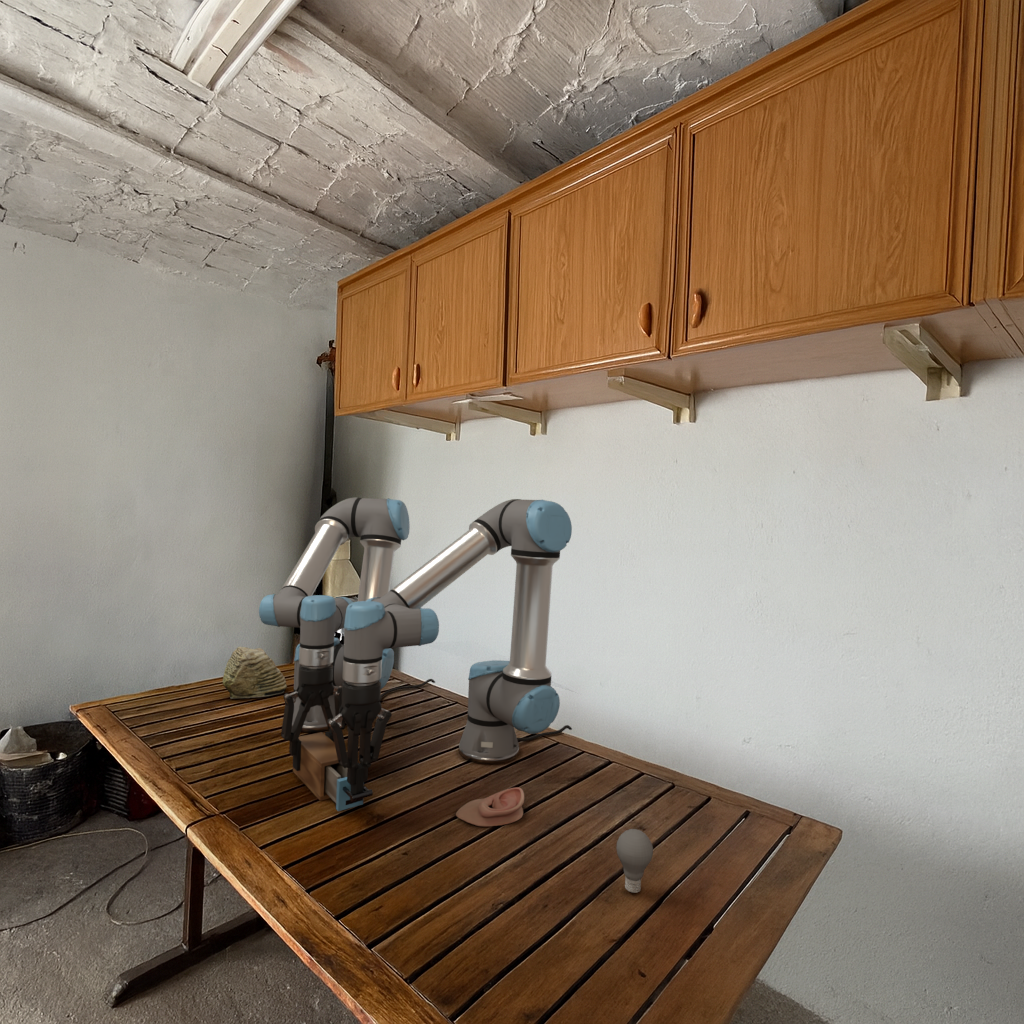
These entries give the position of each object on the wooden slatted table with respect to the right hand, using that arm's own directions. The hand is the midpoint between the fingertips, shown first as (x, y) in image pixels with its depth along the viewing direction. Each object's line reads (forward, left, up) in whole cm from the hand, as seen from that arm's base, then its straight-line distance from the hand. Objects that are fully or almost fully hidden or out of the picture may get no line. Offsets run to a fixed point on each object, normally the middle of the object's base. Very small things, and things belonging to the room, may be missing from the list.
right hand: (356, 798), depth 126 cm
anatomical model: (-25, +10, -4) cm, 27 cm away
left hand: (+4, -23, -2) cm, 24 cm away
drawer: (+1, -8, -3) cm, 8 cm away
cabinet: (+3, -18, -4) cm, 19 cm away
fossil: (+8, -87, -4) cm, 88 cm away
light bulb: (-35, +43, -4) cm, 55 cm away
